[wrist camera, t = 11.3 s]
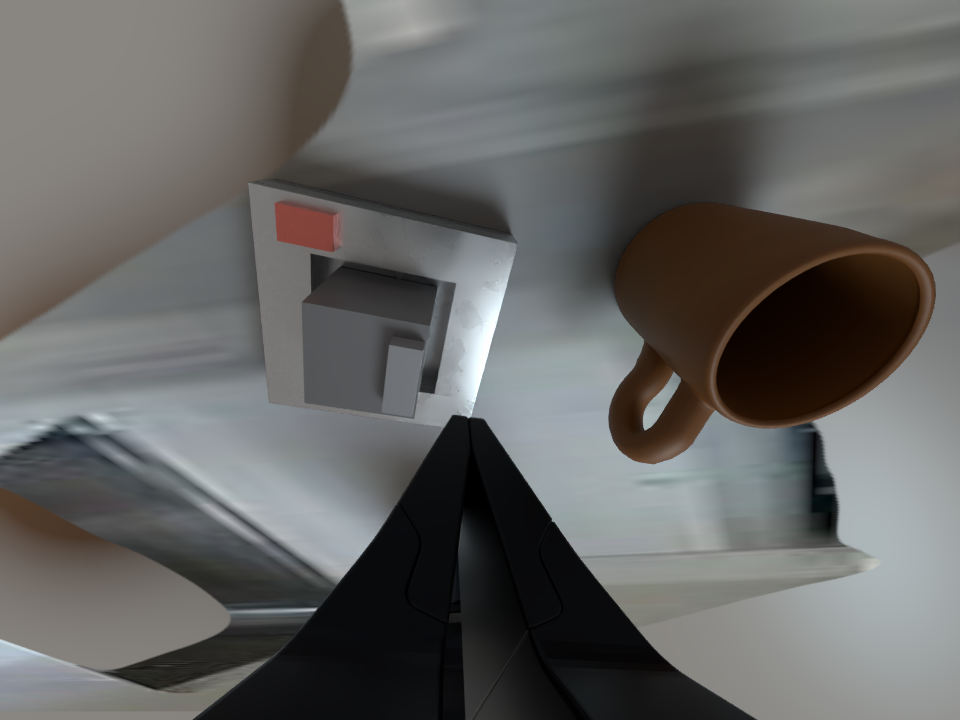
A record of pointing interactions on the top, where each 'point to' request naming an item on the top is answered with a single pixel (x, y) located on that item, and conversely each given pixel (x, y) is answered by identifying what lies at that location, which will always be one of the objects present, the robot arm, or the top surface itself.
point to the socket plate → (387, 252)
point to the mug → (759, 321)
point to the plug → (366, 342)
